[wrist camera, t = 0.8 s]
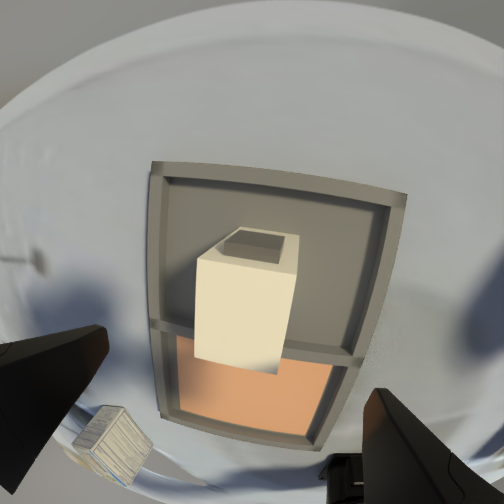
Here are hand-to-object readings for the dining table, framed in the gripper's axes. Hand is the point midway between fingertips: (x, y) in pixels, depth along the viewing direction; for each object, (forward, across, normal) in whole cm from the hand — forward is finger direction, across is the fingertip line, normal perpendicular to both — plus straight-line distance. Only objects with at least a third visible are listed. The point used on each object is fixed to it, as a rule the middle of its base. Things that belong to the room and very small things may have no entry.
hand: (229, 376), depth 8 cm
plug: (+12, 0, 0) cm, 12 cm away
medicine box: (+12, +15, +26) cm, 33 cm away
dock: (+12, 0, +6) cm, 14 cm away
